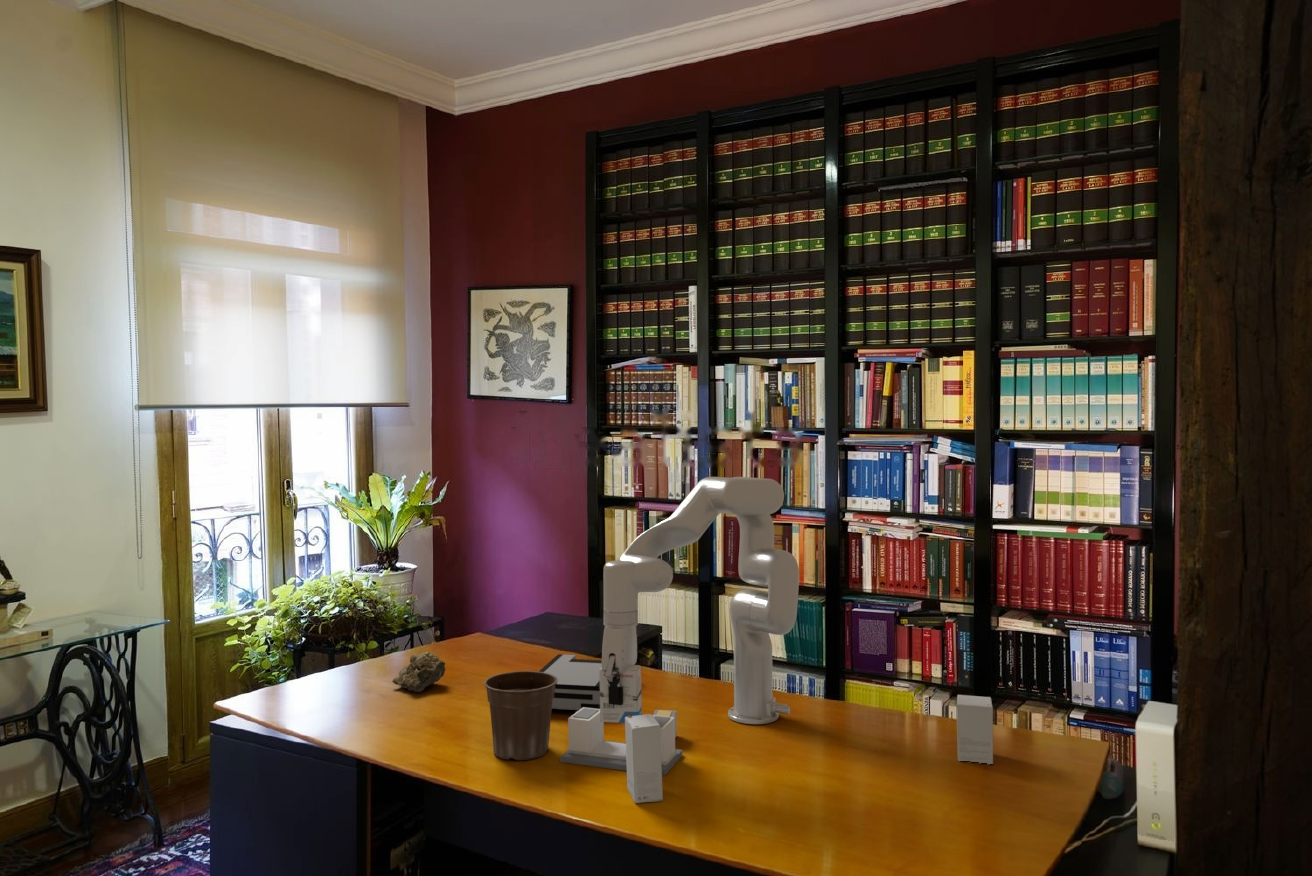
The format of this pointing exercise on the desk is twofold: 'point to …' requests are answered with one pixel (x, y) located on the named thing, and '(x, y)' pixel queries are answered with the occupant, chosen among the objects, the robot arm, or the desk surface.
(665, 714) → the block
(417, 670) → the mineral specimen
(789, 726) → the desk surface
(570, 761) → the white u-shaped stand
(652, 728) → the skincare box
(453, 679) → the desk surface
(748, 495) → the robot arm
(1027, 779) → the desk surface
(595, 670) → the game console
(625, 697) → the ink box
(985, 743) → the supplement box
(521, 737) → the plant pot
